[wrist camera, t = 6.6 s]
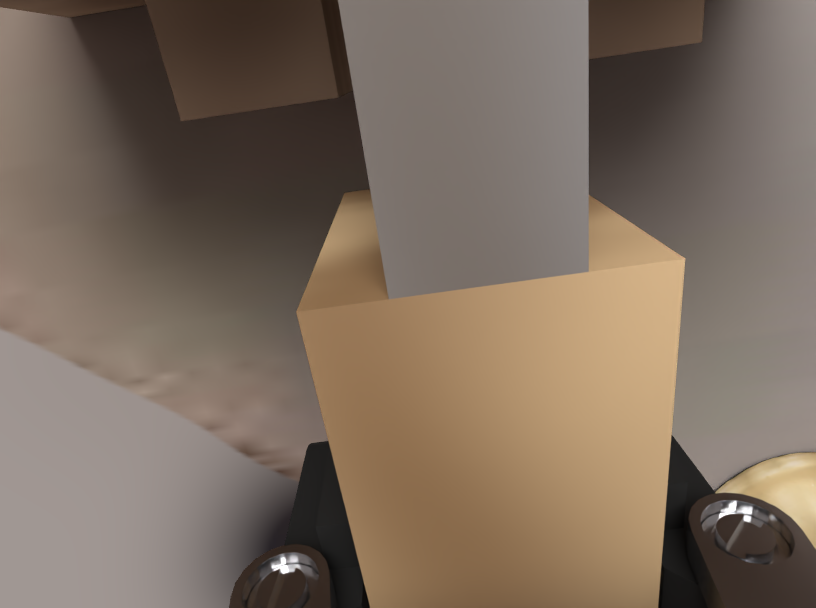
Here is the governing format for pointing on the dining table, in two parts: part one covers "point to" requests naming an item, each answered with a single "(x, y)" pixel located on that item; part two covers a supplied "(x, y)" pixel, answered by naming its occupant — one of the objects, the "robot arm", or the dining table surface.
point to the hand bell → (783, 487)
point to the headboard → (321, 44)
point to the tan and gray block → (491, 322)
